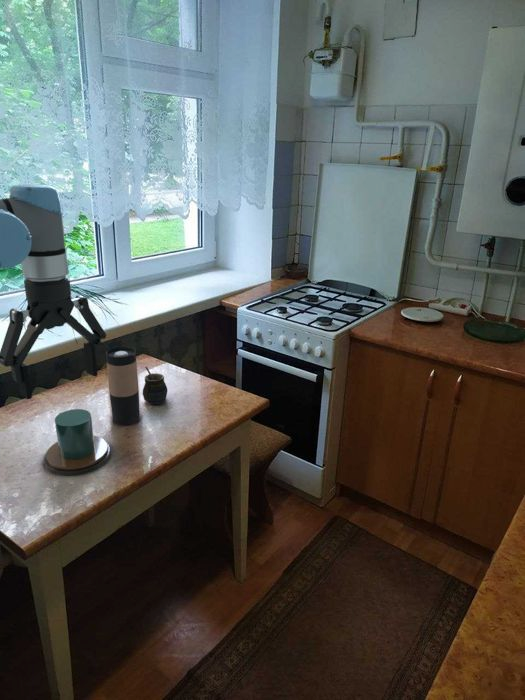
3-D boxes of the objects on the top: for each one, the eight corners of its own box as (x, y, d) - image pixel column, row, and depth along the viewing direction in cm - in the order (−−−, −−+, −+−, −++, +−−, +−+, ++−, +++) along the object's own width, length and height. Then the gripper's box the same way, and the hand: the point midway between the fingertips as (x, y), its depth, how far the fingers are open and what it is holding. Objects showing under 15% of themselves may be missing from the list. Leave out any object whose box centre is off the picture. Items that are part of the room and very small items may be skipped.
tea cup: (119, 453, 119) (115, 418, 116) (63, 478, 110) (57, 440, 106) (90, 431, 128) (86, 397, 125) (35, 452, 119) (30, 416, 115)
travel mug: (107, 417, 137) (100, 350, 130) (131, 409, 142) (126, 344, 134) (120, 428, 132) (114, 359, 124) (145, 419, 137) (141, 352, 129)
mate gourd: (156, 409, 142) (154, 378, 138) (136, 402, 146) (134, 371, 142) (172, 400, 148) (171, 369, 144) (154, 393, 152) (152, 363, 148)
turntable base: (67, 483, 110) (67, 480, 109) (31, 458, 118) (31, 455, 118) (123, 454, 121) (122, 451, 120) (86, 433, 129) (86, 430, 129)
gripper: (96, 263, 99) (105, 361, 107) (-38, 285, 81) (-15, 400, 89) (118, 269, 94) (126, 371, 102) (-18, 293, 76) (4, 414, 84)
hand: (60, 384), depth 96 cm, fingers open, 13 cm apart
